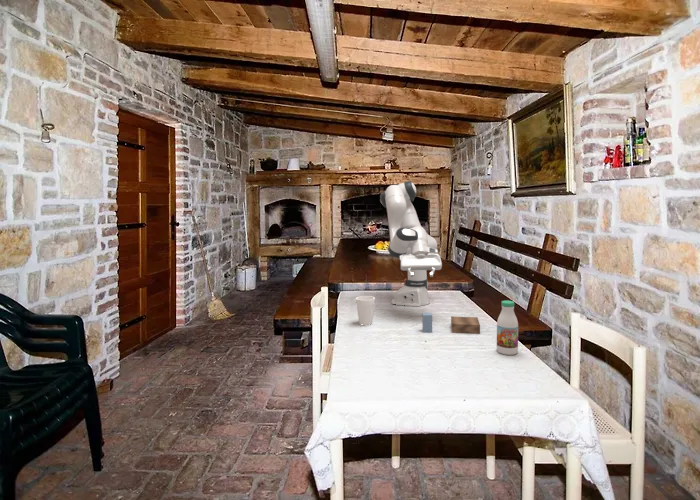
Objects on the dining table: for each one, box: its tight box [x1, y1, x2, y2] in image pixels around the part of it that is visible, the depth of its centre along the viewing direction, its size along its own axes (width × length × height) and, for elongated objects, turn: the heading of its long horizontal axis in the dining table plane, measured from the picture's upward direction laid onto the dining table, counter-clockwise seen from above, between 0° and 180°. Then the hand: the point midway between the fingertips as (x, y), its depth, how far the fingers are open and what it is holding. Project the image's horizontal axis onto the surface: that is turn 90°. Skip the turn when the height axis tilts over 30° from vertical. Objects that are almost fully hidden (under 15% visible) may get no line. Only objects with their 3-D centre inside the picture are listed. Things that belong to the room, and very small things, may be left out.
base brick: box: [450, 316, 481, 335], centre depth 178 cm, size 12×12×4 cm
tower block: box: [421, 312, 433, 333], centre depth 177 cm, size 4×4×8 cm
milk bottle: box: [496, 300, 519, 356], centre depth 149 cm, size 8×8×20 cm
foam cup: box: [355, 295, 376, 326], centre depth 190 cm, size 10×9×13 cm
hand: (421, 276), depth 187 cm, fingers open, 8 cm apart
